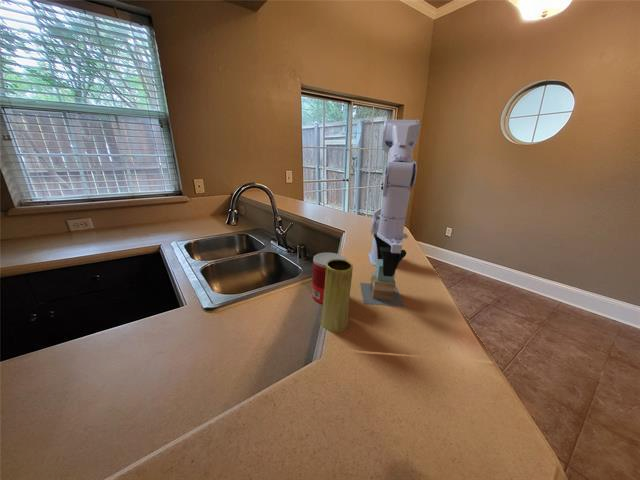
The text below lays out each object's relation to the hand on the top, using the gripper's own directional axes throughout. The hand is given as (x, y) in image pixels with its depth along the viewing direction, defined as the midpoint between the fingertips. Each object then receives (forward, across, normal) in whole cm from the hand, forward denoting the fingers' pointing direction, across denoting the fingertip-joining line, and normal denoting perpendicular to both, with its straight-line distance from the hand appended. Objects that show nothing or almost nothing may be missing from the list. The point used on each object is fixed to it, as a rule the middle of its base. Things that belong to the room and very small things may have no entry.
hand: (384, 268), depth 62 cm
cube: (+2, 0, 0) cm, 3 cm away
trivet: (+8, 0, 0) cm, 8 cm away
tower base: (+8, 0, 0) cm, 8 cm away
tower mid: (+5, 0, 0) cm, 5 cm away
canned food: (+8, -3, +14) cm, 16 cm away
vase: (+8, -13, +12) cm, 19 cm away
